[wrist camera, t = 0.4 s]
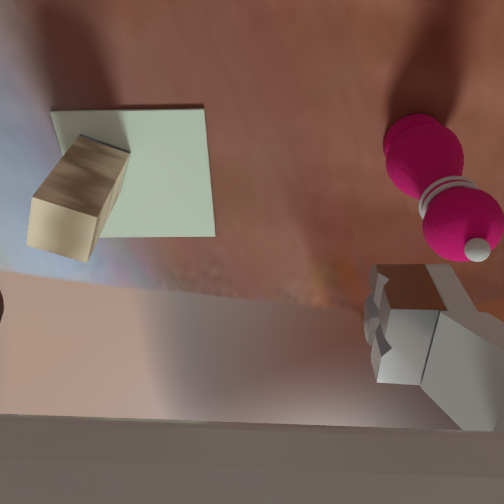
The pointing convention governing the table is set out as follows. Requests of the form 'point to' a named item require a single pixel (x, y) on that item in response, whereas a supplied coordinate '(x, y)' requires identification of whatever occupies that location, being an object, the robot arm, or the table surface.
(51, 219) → the block
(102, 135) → the mat
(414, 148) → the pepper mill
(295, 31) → the table surface
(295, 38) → the table surface
